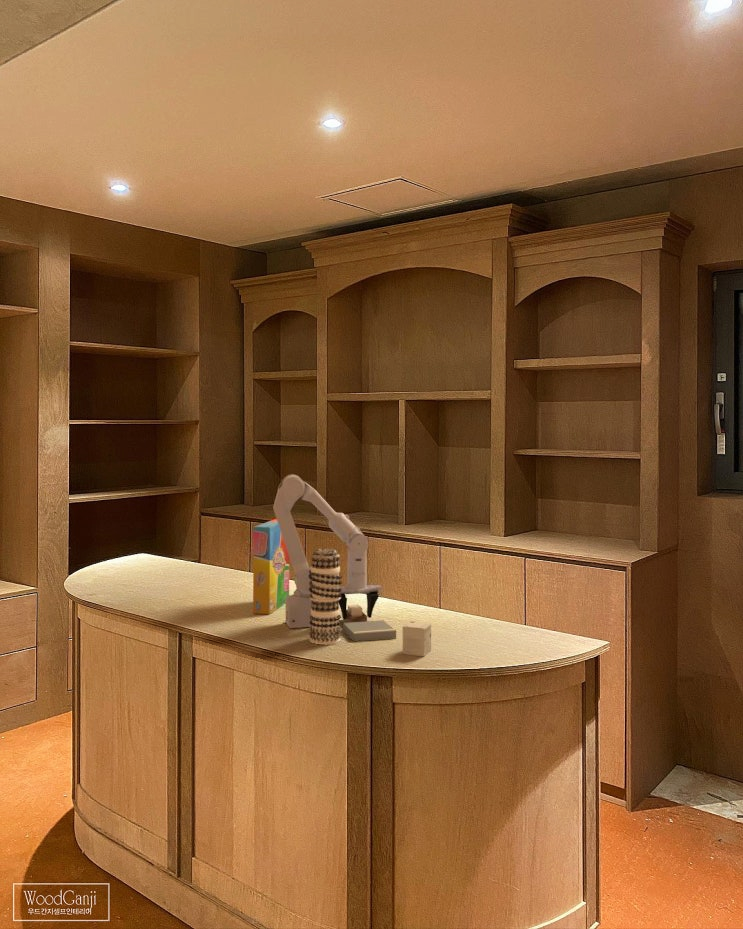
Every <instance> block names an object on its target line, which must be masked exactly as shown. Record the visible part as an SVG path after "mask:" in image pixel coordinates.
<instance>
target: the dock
mask: <svg viewBox="0 0 743 929" xmlns="http://www.w3.org/2000/svg"><path fill="white" fill-rule="evenodd" d="M342 629H343V631H344V632H345V633H346V634H347V635H348V636H349V638H351V639H352V640H353V642H358V641H357V640H365V641H376V640H378V641H379V640H391V639H397V629H396V628H393V627H392V626H391V625H390V624H389V623H387V622H386V621H385V620H384V619H382V620H367V621H366V622H352V623H346V622H343V623H342Z"/></svg>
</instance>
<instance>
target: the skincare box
mask: <svg viewBox="0 0 743 929" xmlns="http://www.w3.org/2000/svg"><path fill="white" fill-rule="evenodd" d="M431 651H432V623H430V622H419V621H413V620H412V621H409V622H407V623H406V624H405V625H403V626H402V655H409V656H418V657H425V656H426V655H428V654H429V653H430V652H431Z"/></svg>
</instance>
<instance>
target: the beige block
mask: <svg viewBox="0 0 743 929" xmlns="http://www.w3.org/2000/svg"><path fill="white" fill-rule="evenodd" d="M347 610H348V614H349V615H350V616H351V617H356V616H362V612H363V607H362V606H360V605H359V604H349V605H347Z"/></svg>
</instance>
